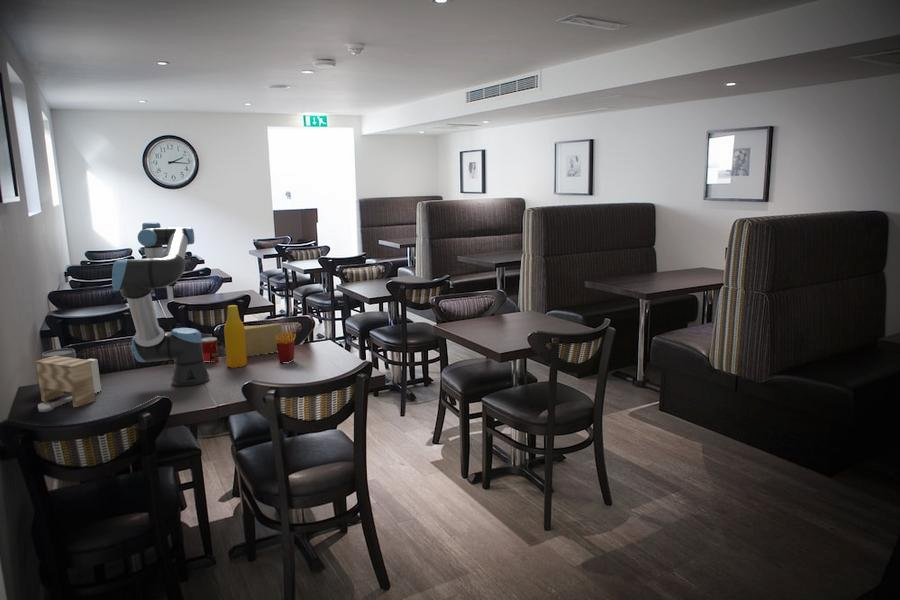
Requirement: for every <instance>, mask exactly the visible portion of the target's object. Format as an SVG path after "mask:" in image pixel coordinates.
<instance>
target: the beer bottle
mask: <svg viewBox="0 0 900 600" xmlns="http://www.w3.org/2000/svg"><path fill="white" fill-rule="evenodd" d="M238 308H239V307H238V305H236V304H231V305H228V306H227V317H226V321H225V324H224V327H223V335H224V347H225V360H226V366H227V368H229V367H231V368H230V369H238V368H237V367H240V368H243V366H244V367H246V366H247V365H246V364H248V359H247V358H248V357H247V356H246V343H245V329H244V326H245V325H244V324H243V322H242V320H241V318H240V314H239V309H238ZM245 365H246V366H245Z"/></svg>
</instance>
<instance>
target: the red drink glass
mask: <svg viewBox="0 0 900 600" xmlns="http://www.w3.org/2000/svg"><path fill="white" fill-rule="evenodd" d="M201 339H202V351H203V361H210V362H211V361H216V362H218V361H219V360H218V359H220V356H219V345H218V338H217V337H215V336H214V337H213V336H210V337H203V338H202V337H201Z"/></svg>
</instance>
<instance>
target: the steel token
mask: <svg viewBox="0 0 900 600" xmlns="http://www.w3.org/2000/svg"><path fill="white" fill-rule="evenodd" d="M53 402H54V401H47V402H40V403H38V404H37V410H38V412H39V413H47V412H50V411H53V410H55V408H54V404H53Z"/></svg>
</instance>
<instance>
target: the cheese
mask: <svg viewBox="0 0 900 600" xmlns="http://www.w3.org/2000/svg"><path fill="white" fill-rule="evenodd" d="M244 329H245V343H246V356H247V358H249V357H248V356H251V357H253V356H252V355H257V354H265V353H271V352H276V351H277V346H276V343H278V342H277V339H276V337H275V335H277V337H278V339H280V338H279V334H278V333H280V334H281V335H282V333H283V334H284V331H283V327H282V324H281V323H270V324H260V325H259V324H258V325H244ZM282 339H283V337H282ZM265 355H266V354H265ZM257 356H258V355H257Z"/></svg>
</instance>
